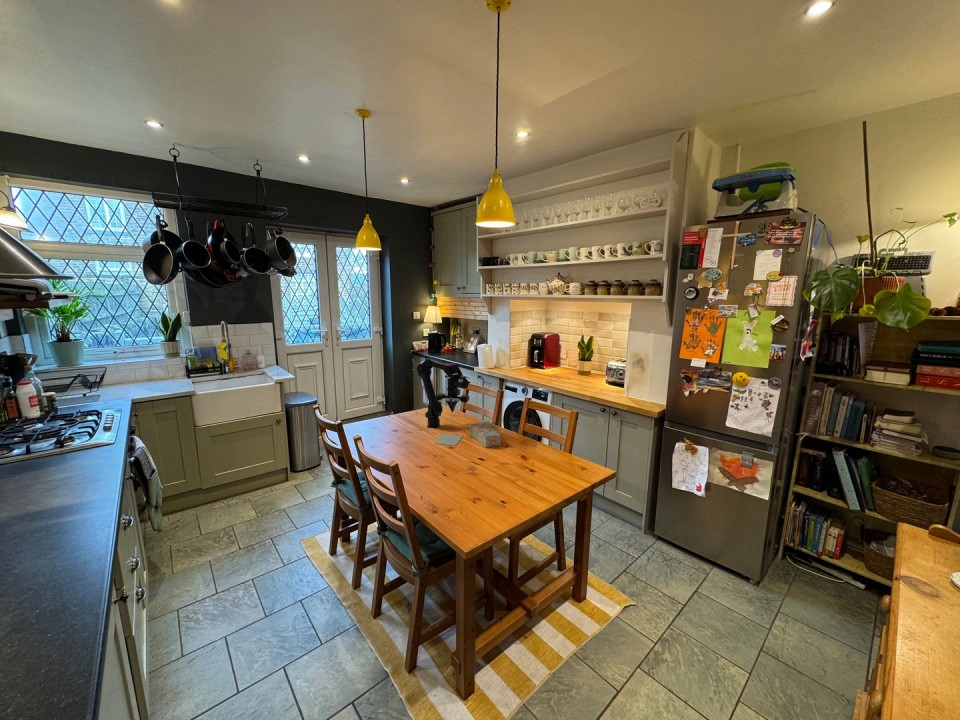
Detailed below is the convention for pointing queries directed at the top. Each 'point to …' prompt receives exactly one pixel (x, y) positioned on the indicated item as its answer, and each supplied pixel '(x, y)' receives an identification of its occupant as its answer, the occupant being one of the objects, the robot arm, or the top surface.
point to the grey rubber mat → (449, 439)
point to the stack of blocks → (485, 433)
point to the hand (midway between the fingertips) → (452, 411)
